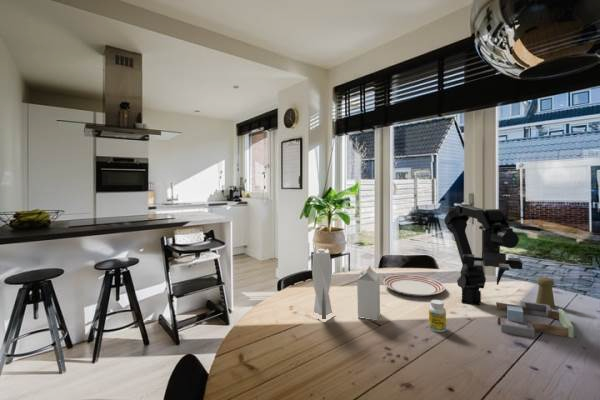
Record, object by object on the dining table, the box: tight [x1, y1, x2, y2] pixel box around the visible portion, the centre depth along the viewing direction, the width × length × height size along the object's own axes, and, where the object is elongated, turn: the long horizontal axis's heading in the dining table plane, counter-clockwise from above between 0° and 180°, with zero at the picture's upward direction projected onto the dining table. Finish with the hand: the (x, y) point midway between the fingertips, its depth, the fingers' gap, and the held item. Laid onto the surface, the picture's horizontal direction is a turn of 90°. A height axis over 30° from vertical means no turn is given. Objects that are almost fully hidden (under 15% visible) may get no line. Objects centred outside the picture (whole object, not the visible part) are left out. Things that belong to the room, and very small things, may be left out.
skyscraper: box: [311, 244, 333, 319], centre depth 117 cm, size 8×8×28 cm
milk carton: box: [356, 264, 381, 321], centre depth 116 cm, size 7×7×19 cm
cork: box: [535, 277, 556, 309], centre depth 122 cm, size 6×6×11 cm
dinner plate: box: [382, 274, 446, 297], centre depth 144 cm, size 27×27×3 cm
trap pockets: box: [500, 300, 553, 339], centre depth 109 cm, size 16×27×2 cm, turn 149°
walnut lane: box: [495, 301, 569, 338], centre depth 109 cm, size 19×15×2 cm
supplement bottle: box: [428, 299, 447, 333], centre depth 105 cm, size 5×5×10 cm
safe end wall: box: [558, 308, 575, 339], centre depth 103 cm, size 1×15×4 cm, turn 149°
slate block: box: [506, 305, 524, 324], centre depth 111 cm, size 4×4×4 cm
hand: (490, 283), depth 114 cm, fingers open, 4 cm apart
